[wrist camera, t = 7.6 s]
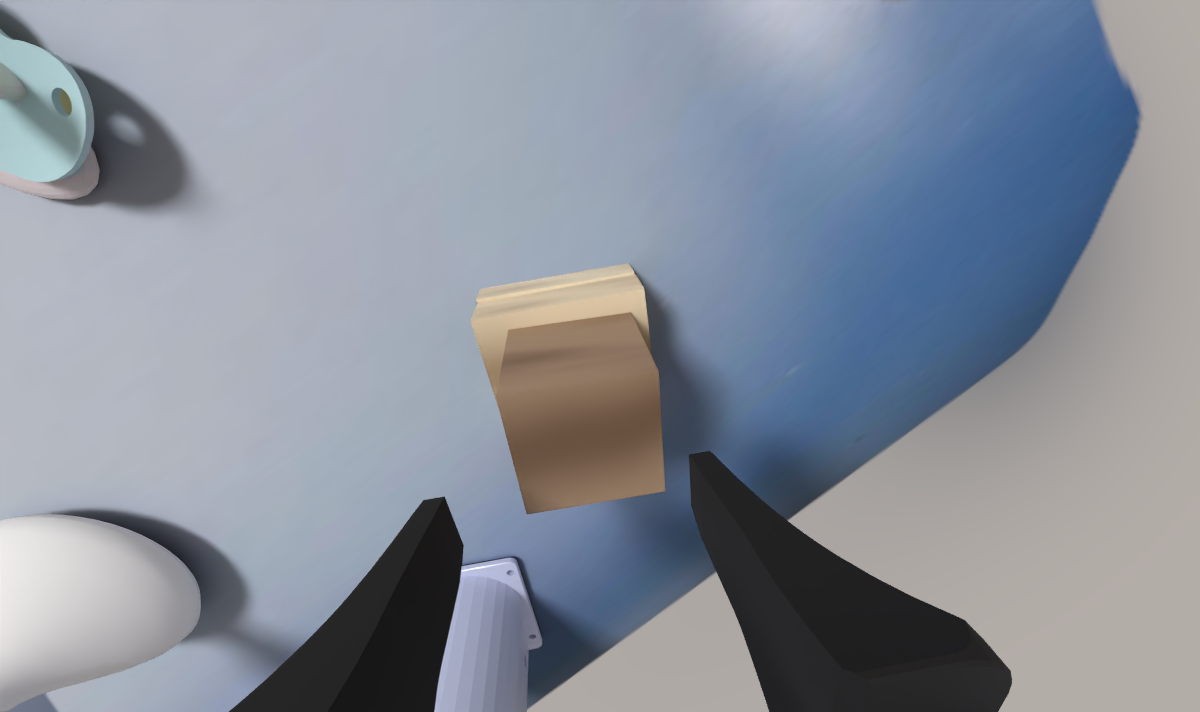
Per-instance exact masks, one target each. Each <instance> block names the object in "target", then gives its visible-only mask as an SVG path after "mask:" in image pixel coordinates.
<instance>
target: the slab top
mask: <svg viewBox="0 0 1200 712" xmlns="http://www.w3.org/2000/svg"><path fill="white" fill-rule="evenodd" d="M629 312H631V314H632V316H633V318H634V320H635V322H636V325H637V327H638V329H639V331H640V333H641V335H642V337H643V339H644V341H645V344H646V346H647V348H648V350H649V352H650V354H651V356H652V352H651V343H650V334H649V326H648V317H647V308H646V300H645V291H644V287H643V286H642V284H641V282H640V281H639V279H638V278H637V276H636V274H633V275H628V276H623V277H617V278H612V279H607V280H601V281H596V282H590V283H585V284H580V285H574V286H569V287H564V288H558V289H553V290H547V291H542V292H537V293H531V294H526V295H520V296H515V297H510V298H504V299H499V300H494V301H488V302H483V303H478V304H477V307H476V309H475V311H474V314H473V316H472V319H471V324H472V327H473V330H474V333H475V336H476V340H477V343H478V346H479V349H480V352H481V355H482V358H483V361H484V364H485V367H486V371H487V374H488V377H489V380H490V383H491V386H492V389H493V392H494V395H495V398H496V393H497V388H498V382H499V377H500V371H501V366H502V361H503V355H504V350H505V344H506V339H507V334H508V330H510V329H517V328H524V327H531V326H538V325H545V324H552V323H559V322H566V321H573V320H580V319H587V318H594V317H601V316H608V315H615V314H622V313H629ZM496 402H497V399H496ZM497 405H498V403H497ZM498 408H499V406H498ZM499 411H500V410H499Z"/></svg>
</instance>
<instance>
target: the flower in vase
mask: <svg viewBox="0 0 1200 712" xmlns="http://www.w3.org/2000/svg"><path fill="white" fill-rule="evenodd" d="M200 611H201V596H200V589H199V586H198V583H197V581H196V579H195V578H194V576H193V574H192V573H191V571H190V570H189V569H188V568H187V566H186V565H185V564H184V563H183V562H182V561H181V560H180V559H179V558H178V557H176V556H175V555H174V554H172V553H171V552H170V551H169V550H167V549H166V548H164V547H162V546H161V545H159V544H158V543H156V542H154V541H152V540H150V539H149V538H147V537H145V536H143V535H141V534H138V533H136V532H133V531H131V530H129V529H126V528H123V527H120V526H117V525H114V524H111V523H107V522H103V521H99V520H95V519H89V518H84V517H78V516H69V515H55V514H41V515H27V516H20V517H14V518H9V519H5V520H0V712H7V711H8V710H10V709H11V708H13V707H14V706H16V705H17V704H19V703H21V702H23V701H26V700H28V699H30V698H32V697H35V696H37V695H40V694H43V693H46V692H50V691H53V690H56V689H59V688H63V687H66V686H70V685H74V684H78V683H82V682H85V681H89V680H93V679H96V678H100V677H103V676H107V675H110V674H114V673H117V672H121V671H123V670H126V669H129V668H132V667H134V666H137V665H139V664H142V663H144V662H147V661H149V660H152V659H154V658H156V657H158V656H160V655H162V654H164V653H165V652H167V651H168V650H170V649H171V648H173V647H174V646H175V645H176V644H178V643H179V642H180V641H181V640H183V639H184V638H185V637H186V636H187V635H189V634H190V633H191V632H192V631H193V629H194V628H195V626H196V625H197V623H198V620H199V617H200Z"/></svg>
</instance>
